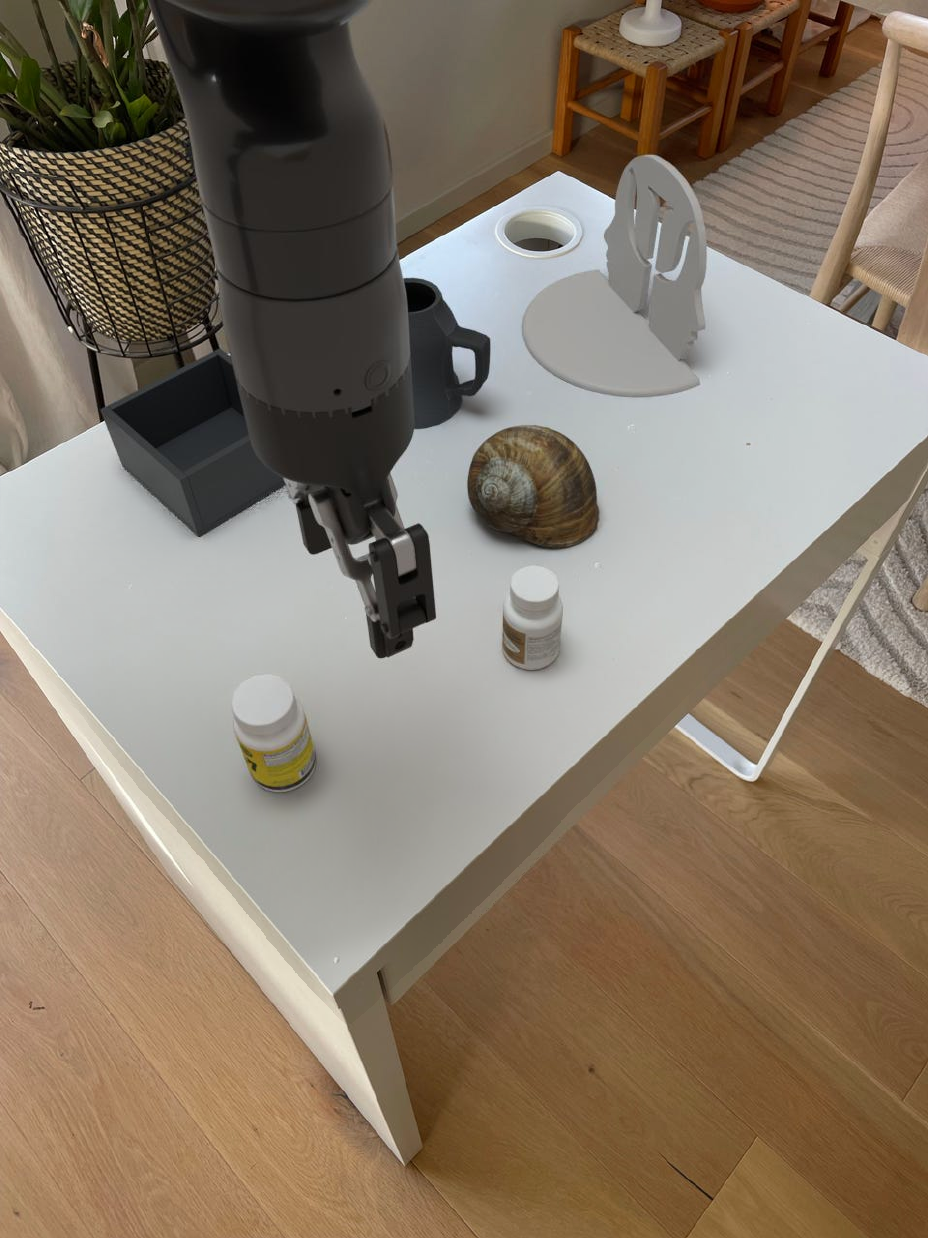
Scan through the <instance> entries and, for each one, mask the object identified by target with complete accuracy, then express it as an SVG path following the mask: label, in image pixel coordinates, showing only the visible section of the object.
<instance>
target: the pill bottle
mask: <svg viewBox="0 0 928 1238" xmlns="http://www.w3.org/2000/svg"><path fill="white" fill-rule="evenodd" d="M559 590H560V582H559V579H558V577H557V575H556V574H555V573H554V572H553V571H552V570H550V569H549V568H547V567H545V566H542V565H541V566H540V565H527V566H524V567H521V568H519V569H518V570H517V571H515V572H514V573H513V575H512V576H511V579H510V588H509V592H508V593H507V594H506V596H505V598H504V601H503V606H502V633H501V634H502V635H501V648H502V652H503V655H504V657H505V658H506V659H507V661H509V663H510V664H512V665H514V666H515V667H517V668H519V669H522V670H529V671H532V670H533V671H535V670H540V669H543V668H545V667H547V666H549V665H551V664H552V663H553V662H554V661H555V660H556V659H557V656H558V654H559V651H560V645H561V644H560V643H561V638H562V637H561V636H562V627H563V615H564V604H563V601H562V598H561V597H560V595H559V594H560V591H559Z"/></svg>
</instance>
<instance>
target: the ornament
mask: <svg viewBox="0 0 928 1238" xmlns="http://www.w3.org/2000/svg"><path fill="white" fill-rule="evenodd" d="M661 199H663V200H664V202H666V203H667V204H669V206H671V208H670V209H667V210H666V211H665V212H664V214H663V217H662V221H661V223H660V214H661V213H660V211H661ZM635 201H636V202H635ZM635 203H636V204H635ZM635 205H636V207H635ZM613 215H614V216H613V218H612V220H611V222H610V224H609V225H608V226H607V228H606V229H605V231H604V233H603V239H604V242H605V243H606V246H607V250H606V252H605V257H606V260H607V261H606V268H607V272H608V278H607V276H605V275H604V273H603V272H602V271H601V270H600V269H598V268H597V269H591V270H585V271H582V272H581V271H580V272H578V273H573V274H571V275H569V276H565V277H562V278H560V279H558V280H556V281H555V282H552V283H551V284H549V285H548V286H546V287H545V288H543V289H542V290H540V291H539V292H538V293H537V294H536V295H535V297H533V298H532V300H531V301H530V303H528V306H527V307H526V309H525V311H524V314H523V316H522V323H521V335H522V340H523V342H524V346H525V347H526V349H527V351H528V352H529V354H530V355H531V356H532V358H533V359H534V360H535V361H536V362H537V364H539V365H540V366H541V367H542V368H543V369H544V370H546V371H547V372H549V373H550V374H552V375H553V376H554V377H556V378H558V379H560V380H562V381H563V382H566V383H568V384H570V385H573V386H575V387H578V388H581V389H584V390H586V391H589V392H592V393H593V392H594V393H598V394H602V395H607V396H615V397H624V398H652V397H660V396H668V395H674V394H677V393H681V392H684V391H688V390H690V389H693V388H696V387H698V386H700V385H701V381H700V378H699V376H698V375H697V374H696V373H695V371H693V370H692V368H690V367H689V365H688V364H687V363H686V362H685V361H684V359H686V358H687V356H688V353H689V350H690V349H691V348H693V347H694V346H695V341H697V340H698V332H700V331H703V330H705V329H706V319H705V318H706V317H705V313H704V306H703V298H702V297H703V296H702V295H703V294H702V286H703V285H704V282H705V280H706V279H705V278H706V274H707V273H706V272H707V262H708V261H707V259H708V258H707V256H708V249H707V248H708V247H707V245H708V244H707V232H706V226H705V223H704V216H703V213H702V209H701V205H700V203H699V200H698V198H697V196H696V194H695V192H694V190H693V188H692V187H691V184H689V182H688V180H687V179H686V177H685V176H683V175H682V173H681V172H679V170H678V169H677V168H676V167H675V166H674V165H672V163H670V162H669V161H667V160H665V159H664V158H662V157H660V156H658V155H656V154H644V155H639V156H636V157H634V158H633V159H631V161H629V162H628V164H627V165H626V166H625V168H624V169H623V171H622V174H621V176H620V179H619V182H618V186H617V189H616V194H615V198H614V214H613ZM659 223H660V224H661V225H660V232H659V238H658V243H657V244H658V245H657V251H656V259H655V265H654V269H655V271H657V272H658V273H656V274H653V279H652V286H651V292H650V301H649V305H648V321H647V320H646V319H645V318H644V317H643V316H642V314H641V313H640V311H642V310H643V309H644V308H645V306H646V304H647V300H648V292H649V287H650V281H651V274H652V273H651V272H652V267H653V264H652V263H651V262H650V261H649V260H651V259H653V258H654V253H655V247H656V240H657V235H658V229H659V228H658V227H659ZM692 224H693V228H694V229H693V230H692V231H691V232H690V234H689V235H690V236H689V238H688V241H687V247H686V252H685V257H684V260H683V264H682V267H681V269H680V272H679V274H678V276H677V278H676V279H675V280H671V279H668V278H666V276H664V275H663V274H665V273H670V272H672V271H675V270H676V268H678V267H679V264H680V262H681V258H682V256H683V251H684V245H685V240H686V237H687V234H688V230H689V228H690V227H691V225H692Z"/></svg>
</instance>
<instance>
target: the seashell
mask: <svg viewBox="0 0 928 1238" xmlns="http://www.w3.org/2000/svg"><path fill="white" fill-rule="evenodd" d="M596 483H597V482H596V479H595V476H594V473H593V470H592V467H591V465H590V463H589V461H588V459H587V457H586V456H585V454H584V452H583V451H582V450H581V449H580V448H579V446H578V445H577V444H576V443H575V442H574V440H571V439H570V438H569V437H568V436H566V435H565V434H563V433H562V432H560V431H557V430H555V429H552V428H550V427H547V426H541V425H536V424H523V425H522V424H521V425H514V426H510V427H507V428H504V429H500V430H499V431H497V432H495V433H493V434H492V435H491V436H489V437H488V438H487V439H485V440H484V441H483V442H482V444H481V445H480V446H479V447H478V448H477V450H476V451H475V452H474V454H473V456H472V458H471V461H470V464H469V468H468V474H467V480H466V486H467V487H466V488H467V496H468V500H469V503H470V505H471V507H472V509H473V511H474V512H475V513H476V515H477V517H479V519H480V520H481V521H482V522H484V523H485V524H486V525H487V526H488V527H491V528H492V529H494V530H496V531H500V532H504V533H505V532H506V533H512V534H514V535H515V536H517V537H518V538H519V539H521V540H524V541H527V542H529V543H532V544H535V545H538V546H542V547H543V546H544V547H548V548H566V547H572V546H574V545H576V544H578V543H581V542H582V541H584V540H585V539H587V538H588V537H589V536H590V535H591V534H593V532H594V531H595V529H596V528H597V526H598V522H599V515H600V507H599V505H598V493H597V491H598V489H597V485H596Z"/></svg>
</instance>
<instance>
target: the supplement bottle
mask: <svg viewBox="0 0 928 1238" xmlns="http://www.w3.org/2000/svg"><path fill="white" fill-rule="evenodd" d="M294 693H295V692H294V690H293V688H292V686H291V685H290V683H289V682H288V681H287V680H286V679H284V678H282V677H281V676H278V675H276V674H270V673H263V674H257V675H253V676H251V677H248V678H247V679H245V680H243V681H242V682H241V683H240V684H239V685H238V686H237V688H236V689H235V690H234V692H233V694H232V697H231V702H230V703H231V704H230V705H231V711H232V714H233V717H232V728H233V733H234V736H235V738H236V741H237V743H238V746H239V748H240V750H241V753H242V755H243V756H242V757H243V759H244V760H245V764H246V766H247V768H248V771H249V773H250V776H251V778H252V780H253V781H254V782H255V783H256V784H257V785H258V786H259V787H261V788H262V789H263V790H266V791H268V792H273V793H286V792H290V791H292V790H295V789H297V788H298V787H299V788H300V787H301V786H302V785H304V784H305V783H306V782H307V781H308V780H309V779H310V778H311V777H312V775H313V773H314V771H315V769H316V765H317V754H316V749H315V746H314V742H313V738H312V735H311V732H310V731H311V730H310V727H309V723H308V719H307V715H306V712H305V710H304V706H303V704H302V703H301V701H300V699H298V697H297V696H296V695H295V694H294Z"/></svg>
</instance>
